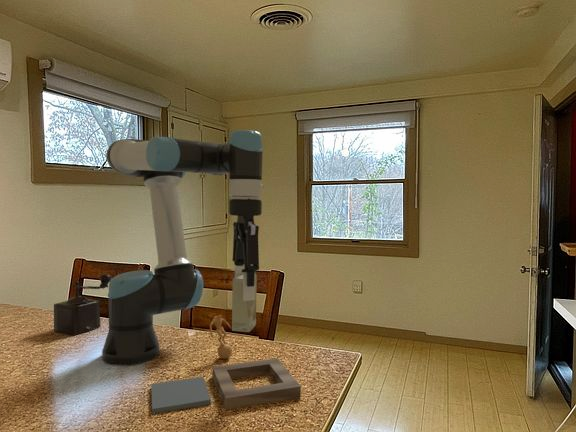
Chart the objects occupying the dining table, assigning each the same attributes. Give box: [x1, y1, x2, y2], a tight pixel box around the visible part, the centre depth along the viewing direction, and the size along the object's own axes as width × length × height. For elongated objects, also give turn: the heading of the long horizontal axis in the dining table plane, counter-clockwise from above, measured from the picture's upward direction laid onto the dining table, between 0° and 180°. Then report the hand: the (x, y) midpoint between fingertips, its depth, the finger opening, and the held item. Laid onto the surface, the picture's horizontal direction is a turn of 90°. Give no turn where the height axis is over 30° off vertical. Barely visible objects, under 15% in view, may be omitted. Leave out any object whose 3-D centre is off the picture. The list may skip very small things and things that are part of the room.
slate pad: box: [150, 376, 212, 415], centre depth 90 cm, size 12×12×1 cm
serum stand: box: [211, 357, 302, 411], centre depth 94 cm, size 17×17×2 cm
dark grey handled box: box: [53, 273, 113, 337], centre depth 137 cm, size 16×11×18 cm
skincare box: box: [231, 274, 258, 333], centre depth 93 cm, size 6×4×12 cm
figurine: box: [209, 314, 233, 360], centre depth 112 cm, size 8×6×12 cm
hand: (244, 295), depth 93 cm, fingers closed on skincare box, 7 cm apart
